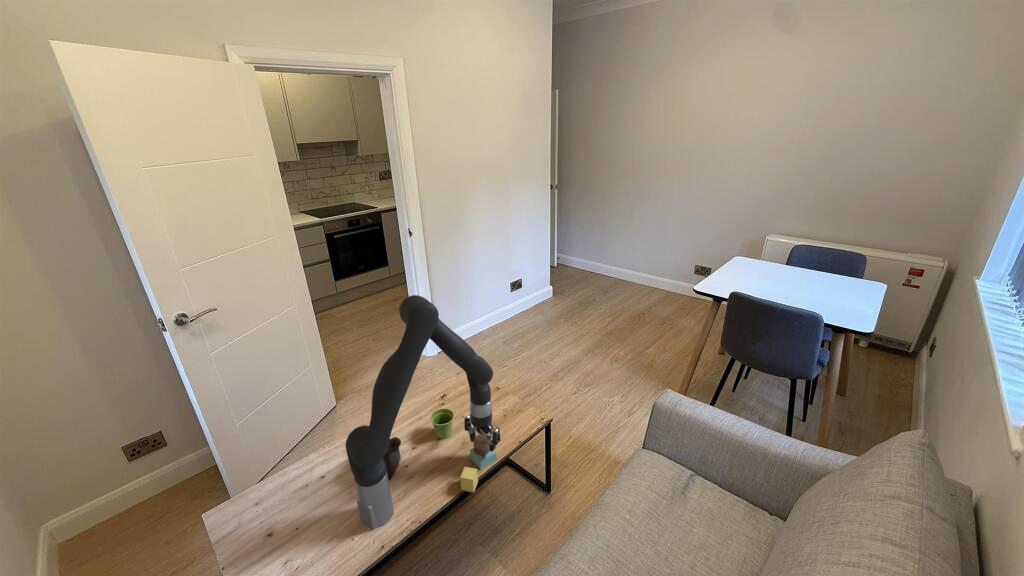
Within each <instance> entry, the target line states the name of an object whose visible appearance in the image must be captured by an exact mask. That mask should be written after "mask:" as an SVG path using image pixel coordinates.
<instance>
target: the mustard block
mask: <svg viewBox="0 0 1024 576" xmlns="http://www.w3.org/2000/svg"><path fill="white" fill-rule="evenodd" d="M478 473H479V472H478V468H474V467H468V466H464V467H463V471H462V472H461V475H460V490H461V491H463V492H469V493H475V491H476V488H477V486H478V483H479V475H478Z"/></svg>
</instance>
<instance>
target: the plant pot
mask: <svg viewBox="0 0 1024 576" xmlns="http://www.w3.org/2000/svg"><path fill="white" fill-rule="evenodd" d="M454 418H455V412H454V411H453V410H452V409H449V408H445V407H443V408H439V409H436V410H434V411H433V412H432V413H431V414H430V417H429V420H430V422H431V424H432V425H433V429H434V432H435V436H436V437H437V438H439V439H447V438H448V437H450V436H451V435H452V433H453V432H452V431H453V422H454Z"/></svg>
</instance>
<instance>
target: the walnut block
mask: <svg viewBox="0 0 1024 576" xmlns="http://www.w3.org/2000/svg"><path fill="white" fill-rule="evenodd" d="M489 444H490V443H489V441H488V440H486V438H485V437H484V435H482V434H480V433H477V436H476V438H475V439H474V440H473V448H474V453H476V454H478V455H480V456H482V457H485V456H486V455H487V454H488V452H489V451H490V447H489Z"/></svg>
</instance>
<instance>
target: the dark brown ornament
mask: <svg viewBox="0 0 1024 576" xmlns="http://www.w3.org/2000/svg"><path fill="white" fill-rule="evenodd" d="M401 444H402V441H401V439H400V438H399V437H397V436H394V437H391V438H390V439H389V443H388V446H387V449H386V452H385V455H384V457H383V459H384V461H385V464H386V469H387V475H388V481H391V480H392V479H393V477H394V475H395V474H396V471H397V469H398V467H399V466H400V462H401V459H402V458H401V452H400V446H401Z"/></svg>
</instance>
